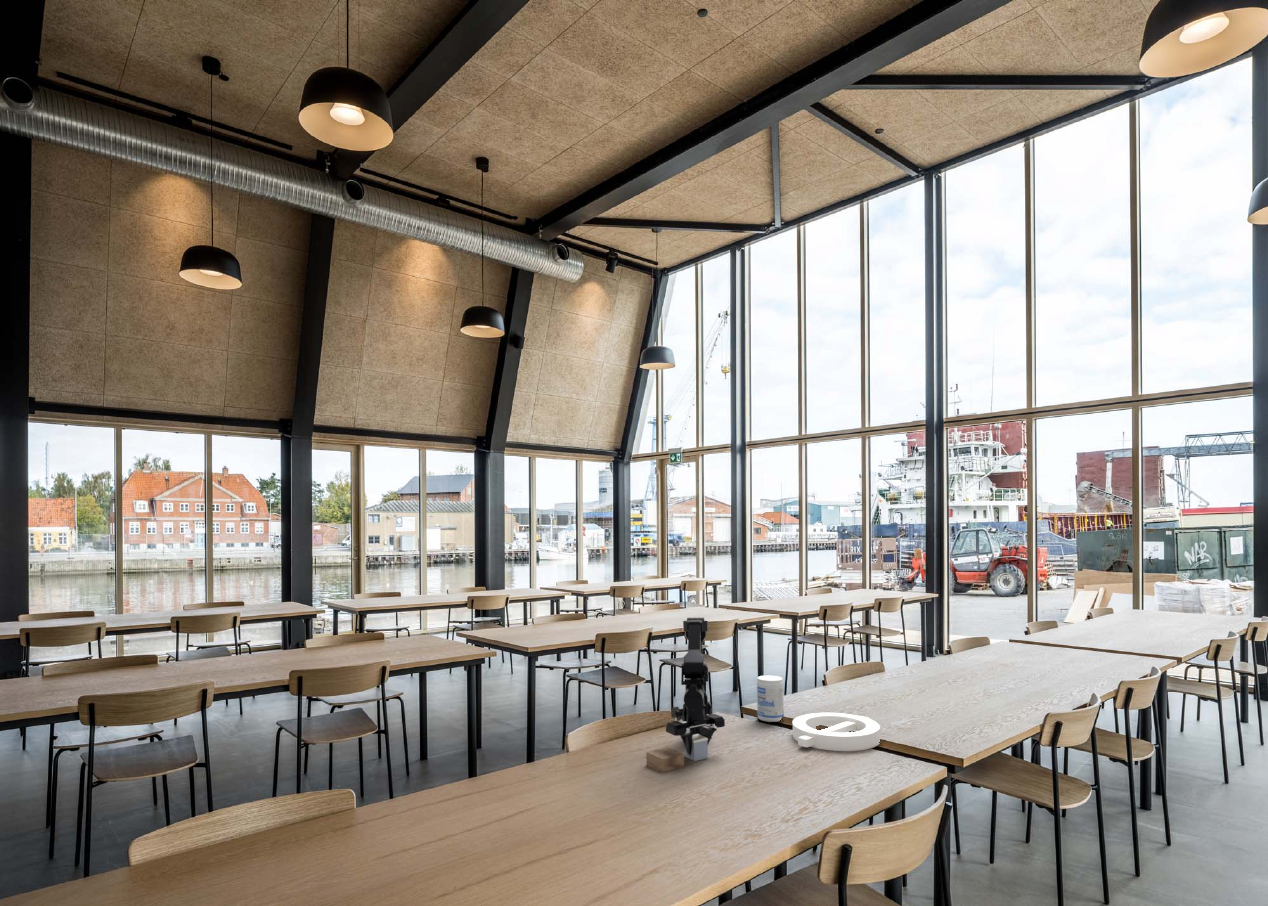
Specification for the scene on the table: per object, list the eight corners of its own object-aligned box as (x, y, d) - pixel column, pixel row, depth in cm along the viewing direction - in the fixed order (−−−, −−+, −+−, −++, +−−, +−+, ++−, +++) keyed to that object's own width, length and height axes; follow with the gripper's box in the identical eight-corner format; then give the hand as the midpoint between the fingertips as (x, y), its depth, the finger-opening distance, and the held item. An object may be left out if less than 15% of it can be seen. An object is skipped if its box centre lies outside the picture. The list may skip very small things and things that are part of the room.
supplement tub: (755, 721, 256) (754, 679, 257) (760, 714, 264) (758, 674, 266) (782, 723, 252) (780, 681, 254) (786, 716, 261) (784, 675, 263)
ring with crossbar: (869, 726, 247) (868, 712, 248) (890, 752, 220) (889, 736, 220) (788, 726, 250) (787, 712, 251) (798, 751, 222) (798, 736, 223)
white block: (698, 753, 221) (698, 733, 222) (708, 758, 217) (707, 737, 218) (684, 756, 219) (684, 736, 219) (694, 761, 214) (693, 740, 215)
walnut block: (667, 760, 217) (667, 746, 217) (684, 767, 210) (683, 753, 211) (646, 766, 212) (646, 752, 212) (663, 773, 205) (662, 759, 206)
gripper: (704, 692, 231) (705, 741, 230) (655, 700, 222) (657, 751, 220) (725, 698, 222) (726, 750, 220) (675, 707, 212) (676, 761, 211)
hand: (696, 753), depth 218 cm, fingers closed on white block, 5 cm apart
